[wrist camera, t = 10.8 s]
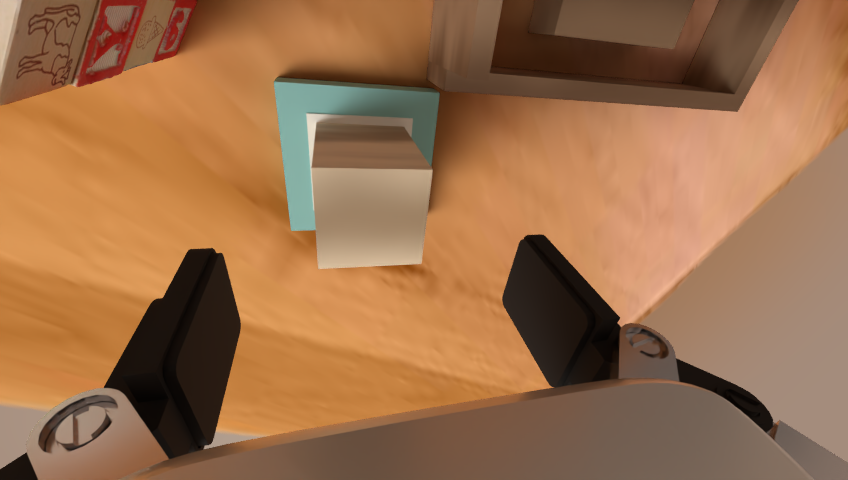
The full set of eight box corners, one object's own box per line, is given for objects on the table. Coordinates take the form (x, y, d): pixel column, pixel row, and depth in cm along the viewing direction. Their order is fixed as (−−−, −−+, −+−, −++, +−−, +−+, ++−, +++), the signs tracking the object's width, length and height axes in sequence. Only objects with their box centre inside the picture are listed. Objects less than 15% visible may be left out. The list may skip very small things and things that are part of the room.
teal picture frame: (277, 77, 19) (273, 81, 18) (433, 88, 22) (440, 93, 20) (293, 219, 24) (291, 231, 23) (419, 216, 26) (424, 227, 25)
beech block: (316, 122, 20) (311, 167, 14) (404, 126, 21) (432, 169, 15) (320, 202, 22) (318, 268, 16) (398, 202, 23) (421, 263, 18)
